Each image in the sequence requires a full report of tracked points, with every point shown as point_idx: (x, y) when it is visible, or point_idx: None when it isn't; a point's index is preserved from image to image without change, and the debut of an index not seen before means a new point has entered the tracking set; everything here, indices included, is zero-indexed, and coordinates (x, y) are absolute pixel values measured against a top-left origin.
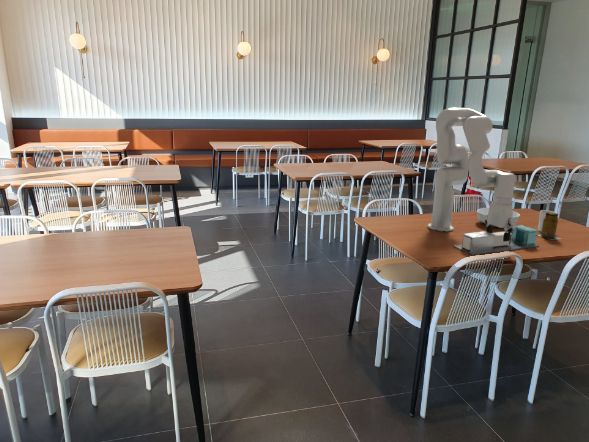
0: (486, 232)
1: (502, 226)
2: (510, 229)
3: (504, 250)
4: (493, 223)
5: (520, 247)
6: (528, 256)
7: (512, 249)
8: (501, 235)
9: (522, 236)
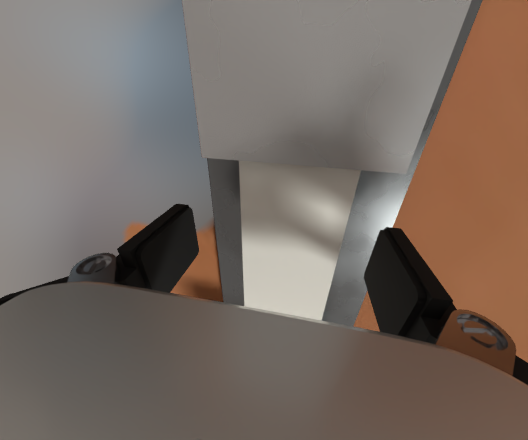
0: (343, 149)
1: (21, 296)
2: (9, 299)
3: (211, 188)
4: (272, 353)
5: (226, 289)
6: (136, 229)
7: (218, 242)
8: (243, 265)
9: None
